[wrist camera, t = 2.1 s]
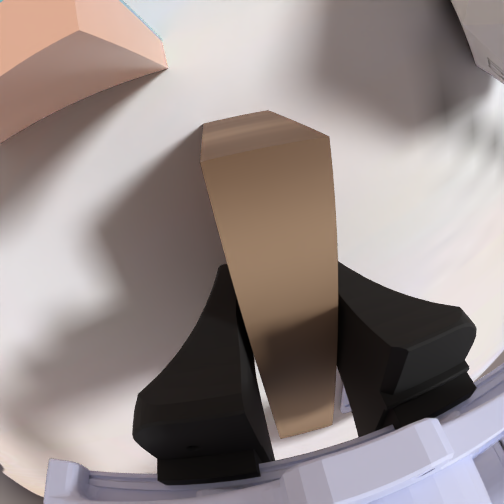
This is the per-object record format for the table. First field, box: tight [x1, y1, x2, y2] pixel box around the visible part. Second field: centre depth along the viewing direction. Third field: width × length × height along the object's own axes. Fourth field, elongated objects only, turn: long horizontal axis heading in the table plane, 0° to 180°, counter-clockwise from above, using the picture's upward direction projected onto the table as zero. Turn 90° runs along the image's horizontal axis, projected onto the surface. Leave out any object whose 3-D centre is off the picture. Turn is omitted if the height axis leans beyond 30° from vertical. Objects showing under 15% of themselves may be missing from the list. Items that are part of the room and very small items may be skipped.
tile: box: [0, 0, 168, 143], centre depth 5 cm, size 1×8×8 cm, turn 100°
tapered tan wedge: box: [200, 110, 338, 439], centre depth 11 cm, size 12×2×6 cm, turn 11°
